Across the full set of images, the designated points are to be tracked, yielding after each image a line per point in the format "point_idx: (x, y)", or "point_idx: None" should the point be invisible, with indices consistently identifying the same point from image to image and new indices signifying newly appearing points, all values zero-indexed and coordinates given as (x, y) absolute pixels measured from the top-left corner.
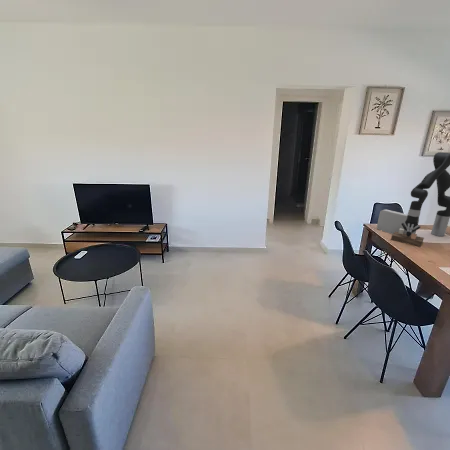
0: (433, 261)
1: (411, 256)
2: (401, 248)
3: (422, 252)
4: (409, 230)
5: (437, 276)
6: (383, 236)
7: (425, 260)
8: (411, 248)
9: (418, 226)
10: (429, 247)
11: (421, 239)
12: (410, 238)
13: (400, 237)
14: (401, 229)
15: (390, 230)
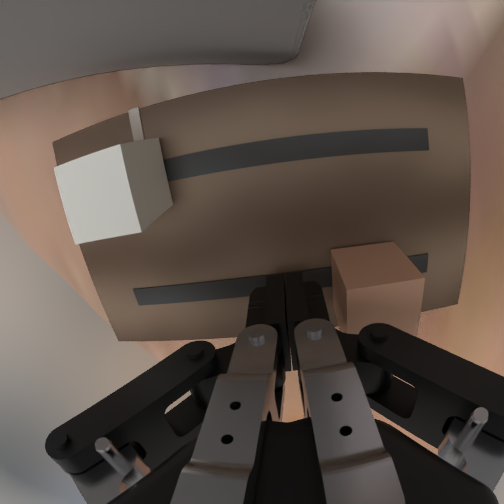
0: None
1: None
2: (297, 419)
3: None
4: (211, 29)
5: None
6: (58, 262)
7: (429, 445)
8: None
9: (486, 465)
10: (493, 212)
11: (455, 202)
12: (329, 290)
13: (212, 334)
14: (97, 219)
15: (14, 87)
